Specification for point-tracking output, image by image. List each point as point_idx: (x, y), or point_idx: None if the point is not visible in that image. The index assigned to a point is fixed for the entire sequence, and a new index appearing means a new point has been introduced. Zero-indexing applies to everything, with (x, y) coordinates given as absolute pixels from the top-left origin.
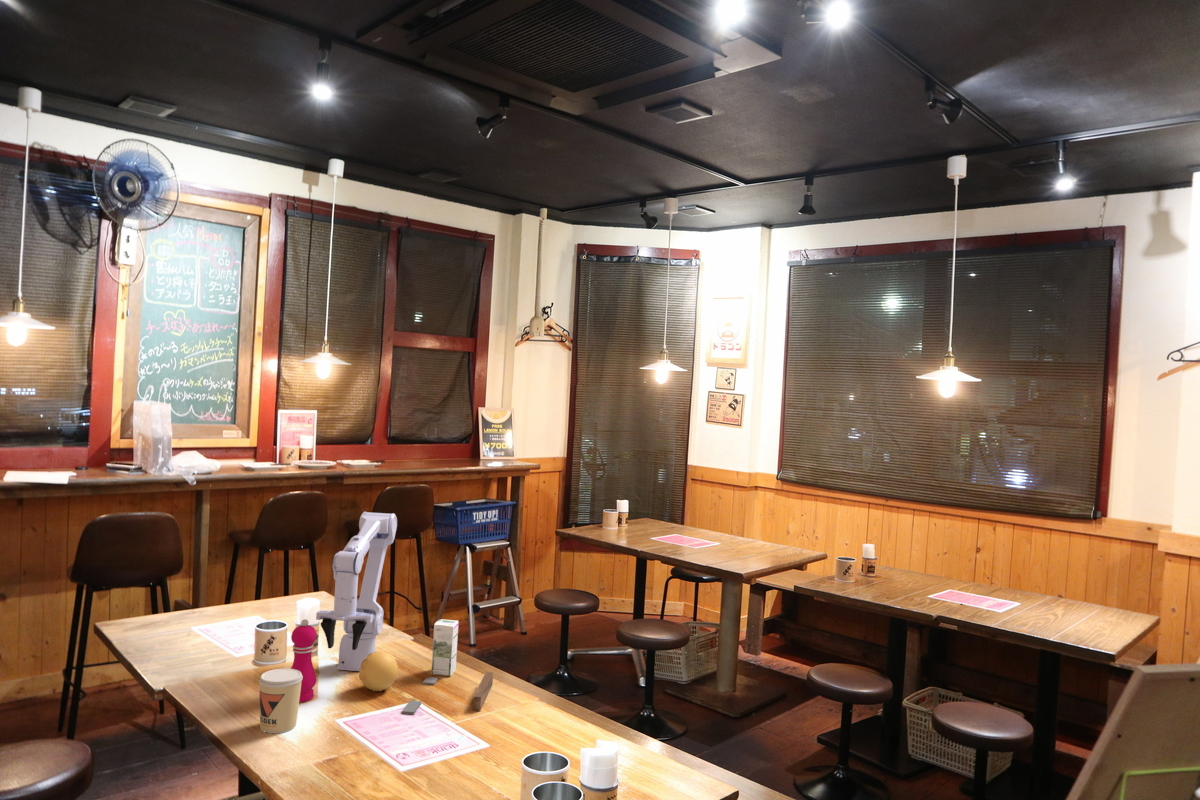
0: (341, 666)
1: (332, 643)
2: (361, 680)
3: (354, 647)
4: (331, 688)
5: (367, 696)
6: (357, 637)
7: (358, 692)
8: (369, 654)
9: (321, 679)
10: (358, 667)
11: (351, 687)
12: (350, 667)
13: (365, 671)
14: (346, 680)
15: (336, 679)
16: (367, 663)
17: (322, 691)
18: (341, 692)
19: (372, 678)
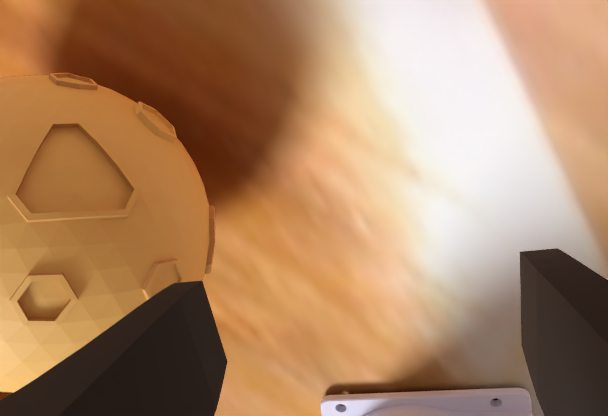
0: (510, 413)
1: (535, 343)
2: (150, 112)
3: (155, 296)
4: (419, 105)
5: (115, 55)
6: (8, 398)
7: (209, 100)
8: (65, 305)
9: (564, 232)
10: (395, 412)
11: (299, 165)
12: (449, 412)
13: (44, 99)
14: (391, 260)
15: (462, 258)
16: (10, 154)
17: (457, 28)
18: (314, 60)
19: (2, 78)
